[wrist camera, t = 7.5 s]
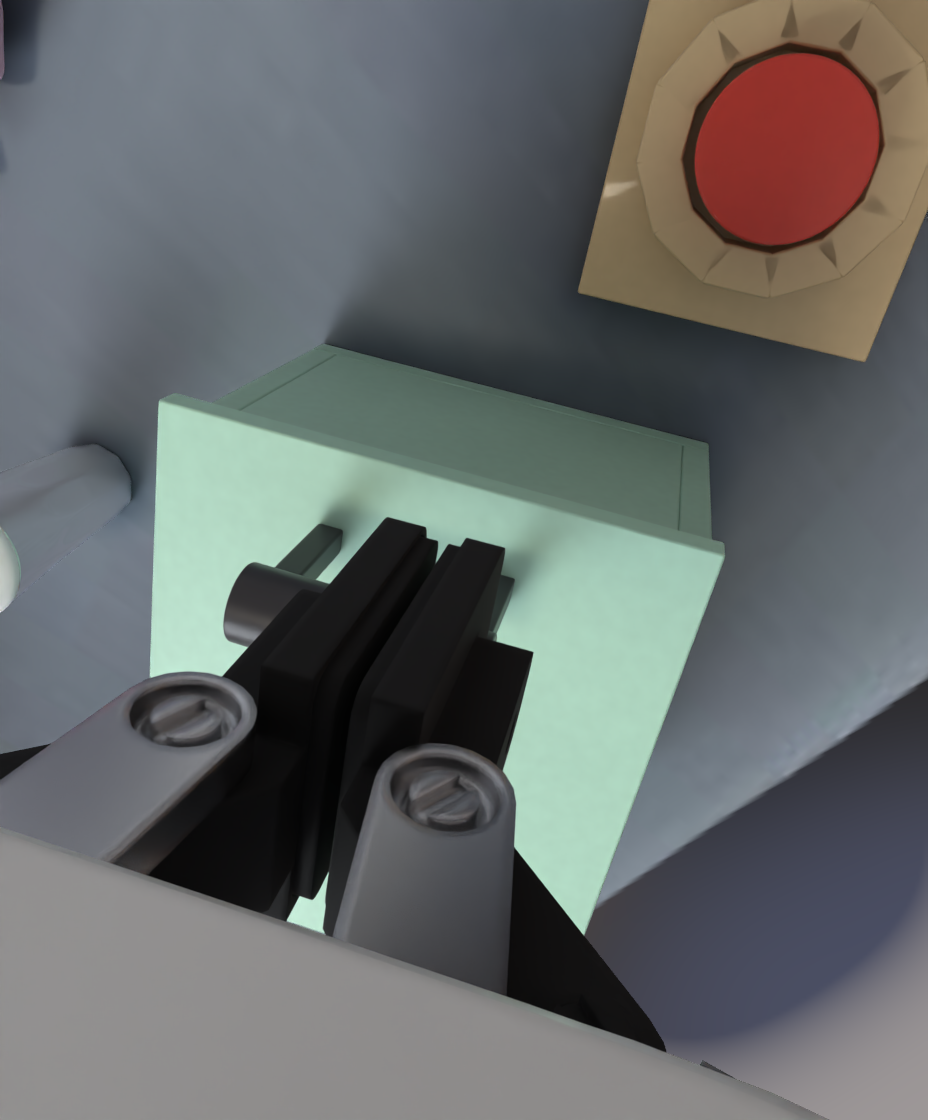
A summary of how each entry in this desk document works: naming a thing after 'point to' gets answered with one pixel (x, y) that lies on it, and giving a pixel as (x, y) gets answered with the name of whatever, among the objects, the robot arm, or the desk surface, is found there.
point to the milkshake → (55, 511)
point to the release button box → (684, 221)
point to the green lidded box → (490, 434)
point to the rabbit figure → (1, 43)
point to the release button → (787, 149)
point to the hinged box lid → (449, 517)
